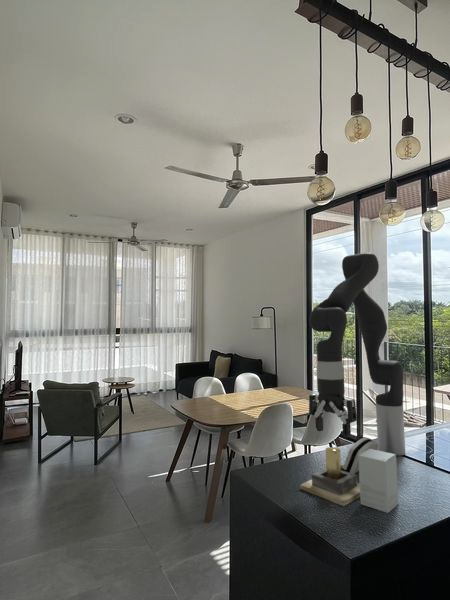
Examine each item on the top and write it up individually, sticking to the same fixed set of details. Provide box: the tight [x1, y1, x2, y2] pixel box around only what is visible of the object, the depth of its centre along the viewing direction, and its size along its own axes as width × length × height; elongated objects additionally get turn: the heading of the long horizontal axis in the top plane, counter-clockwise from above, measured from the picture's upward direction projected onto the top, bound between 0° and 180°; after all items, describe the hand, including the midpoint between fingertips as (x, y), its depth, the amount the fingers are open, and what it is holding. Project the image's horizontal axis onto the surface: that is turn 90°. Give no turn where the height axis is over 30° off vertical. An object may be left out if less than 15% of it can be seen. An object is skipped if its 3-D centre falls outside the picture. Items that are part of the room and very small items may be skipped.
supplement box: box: [358, 449, 400, 514], centre depth 97 cm, size 7×7×13 cm
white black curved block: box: [341, 437, 378, 475], centre depth 123 cm, size 17×5×10 cm, turn 137°
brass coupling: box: [325, 446, 342, 480], centre depth 106 cm, size 4×4×10 cm
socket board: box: [299, 467, 360, 507], centre depth 105 cm, size 13×14×4 cm
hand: (332, 433), depth 106 cm, fingers open, 8 cm apart
